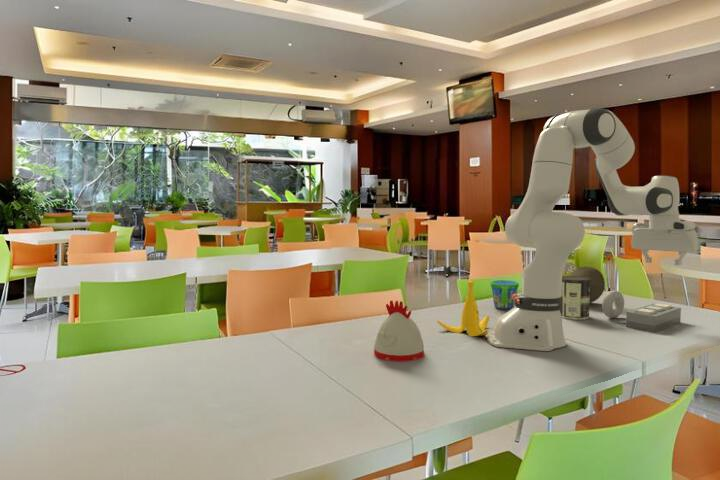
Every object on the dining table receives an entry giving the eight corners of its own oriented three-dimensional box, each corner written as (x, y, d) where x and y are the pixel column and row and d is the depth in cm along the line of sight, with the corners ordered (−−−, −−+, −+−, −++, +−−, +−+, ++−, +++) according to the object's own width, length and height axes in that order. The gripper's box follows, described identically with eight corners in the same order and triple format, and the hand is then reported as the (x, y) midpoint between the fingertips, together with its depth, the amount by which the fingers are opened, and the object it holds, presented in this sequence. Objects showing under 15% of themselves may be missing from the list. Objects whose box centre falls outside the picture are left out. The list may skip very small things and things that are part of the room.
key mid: (657, 315, 173) (657, 309, 173) (645, 313, 176) (645, 307, 176) (662, 313, 176) (663, 307, 175) (650, 311, 179) (650, 305, 179)
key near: (649, 318, 169) (649, 312, 169) (636, 316, 172) (636, 310, 172) (654, 316, 172) (655, 310, 172) (642, 314, 175) (642, 308, 175)
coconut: (559, 302, 214) (559, 265, 213) (587, 299, 219) (588, 264, 217) (583, 308, 201) (584, 270, 200) (613, 306, 205) (614, 268, 204)
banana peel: (489, 326, 177) (489, 277, 176) (489, 341, 159) (489, 286, 157) (439, 323, 181) (439, 275, 179) (434, 338, 162) (434, 285, 161)
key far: (665, 312, 177) (665, 306, 177) (653, 310, 180) (653, 305, 180) (670, 311, 179) (670, 305, 179) (658, 309, 183) (658, 303, 182)
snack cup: (517, 313, 195) (517, 286, 194) (488, 311, 199) (488, 284, 198) (519, 304, 210) (519, 279, 209) (492, 303, 213) (492, 278, 212)
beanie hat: (393, 344, 156) (393, 294, 155) (433, 352, 148) (433, 299, 146) (364, 355, 146) (363, 302, 144) (405, 364, 137) (405, 308, 136)
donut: (608, 320, 182) (609, 292, 181) (599, 318, 185) (600, 290, 184) (626, 317, 187) (627, 289, 186) (617, 315, 190) (618, 288, 189)
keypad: (654, 331, 167) (655, 316, 166) (626, 326, 174) (626, 311, 173) (680, 322, 179) (680, 307, 178) (652, 317, 186) (653, 303, 186)
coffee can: (582, 313, 194) (583, 275, 193) (594, 319, 183) (595, 280, 182) (554, 313, 194) (555, 275, 193) (564, 320, 184) (565, 280, 183)
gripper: (628, 223, 184) (627, 262, 185) (693, 225, 168) (692, 267, 169) (636, 222, 187) (635, 260, 189) (700, 223, 171) (699, 265, 173)
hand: (663, 263), depth 179 cm, fingers open, 8 cm apart
